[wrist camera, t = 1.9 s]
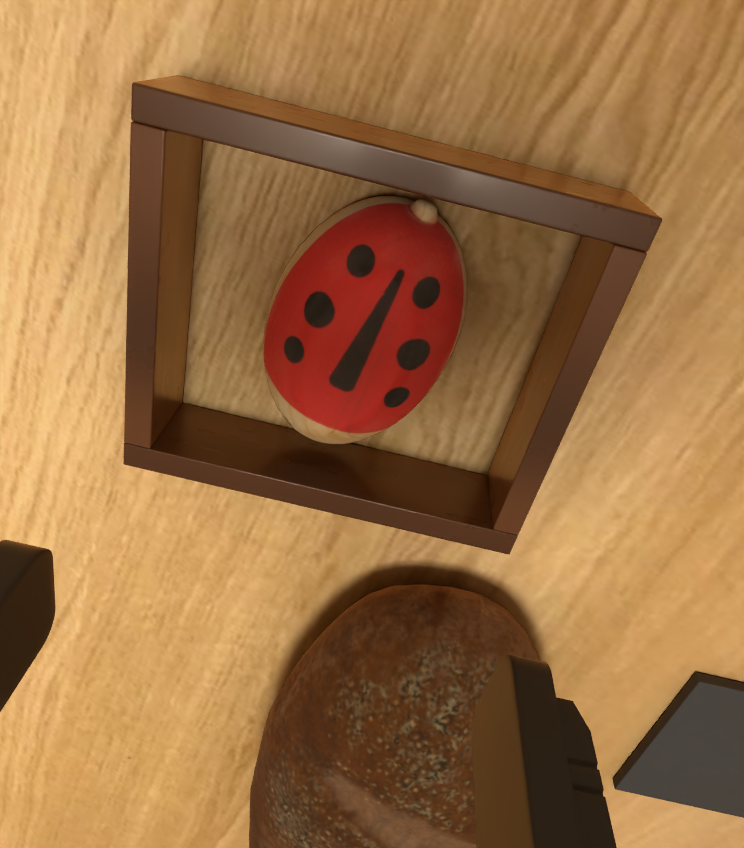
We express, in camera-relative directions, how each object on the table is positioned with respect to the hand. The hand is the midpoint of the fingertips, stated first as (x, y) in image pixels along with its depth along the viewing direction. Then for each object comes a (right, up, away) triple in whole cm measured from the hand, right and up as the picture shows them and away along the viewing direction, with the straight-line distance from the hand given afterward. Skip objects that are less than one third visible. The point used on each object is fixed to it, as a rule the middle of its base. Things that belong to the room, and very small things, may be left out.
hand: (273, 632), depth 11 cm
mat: (+22, -14, +23) cm, 35 cm away
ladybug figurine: (+1, +8, +13) cm, 15 cm away
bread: (+3, -18, +28) cm, 34 cm away
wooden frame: (+1, +8, +13) cm, 15 cm away
